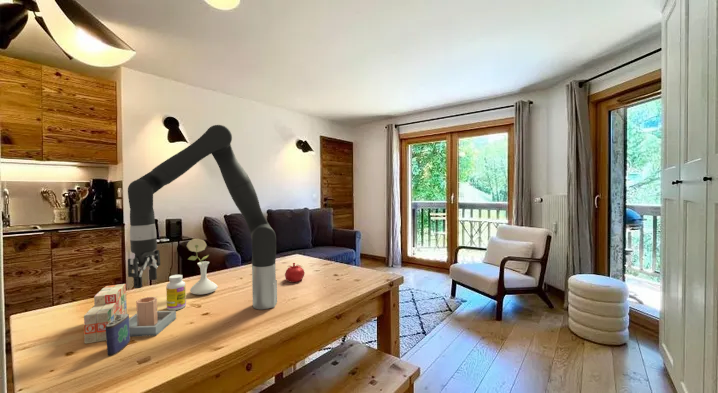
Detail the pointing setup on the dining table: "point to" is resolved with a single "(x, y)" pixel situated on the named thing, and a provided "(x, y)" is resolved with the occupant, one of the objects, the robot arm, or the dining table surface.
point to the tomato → (294, 273)
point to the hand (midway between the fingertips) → (146, 283)
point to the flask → (117, 334)
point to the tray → (162, 323)
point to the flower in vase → (204, 283)
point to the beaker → (147, 311)
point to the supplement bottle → (176, 293)
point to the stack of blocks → (104, 312)
